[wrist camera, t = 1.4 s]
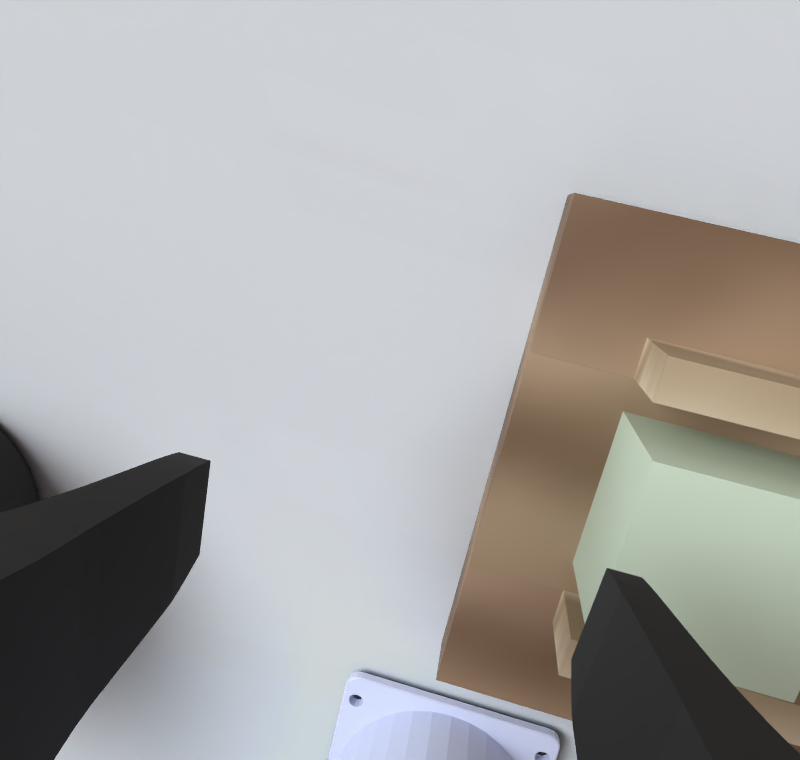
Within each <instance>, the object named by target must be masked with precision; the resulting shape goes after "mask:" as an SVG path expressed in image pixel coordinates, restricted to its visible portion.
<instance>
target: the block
mask: <svg viewBox="0 0 800 760" xmlns="http://www.w3.org/2000/svg"><path fill="white" fill-rule="evenodd" d="M573 567H574V572H575V577H576V582H577V587H578V592H579V598H580V603H581V608H582V613H583V618H584V623H586V620H587V617H588V615H589V612H590V610H591V607H592V605H593V602H594V599H595V597H596V594H597V592H598V589H599V586H600V584H601V581H602V579H603V576H604V574H605V571H606V568H609V569H613V570H617V571H621V572H624V573H628V574H632V575H635V576H639V577H642V578H643V579H644V580H645V581H646V582H647V583H648V584H649V585H650V586H651V587H652V589H653V590H654V591H655V592H656V593H657V594H658V596H659V597H660V598H661V599H662V600H663V602H664V603H665V604H666V605H667V607H668V608H669V609H670V610H671V611H672V613H673V614H674V615H675V616H676V618H677V619H678V620H679V621H680V622H681V624H682V625H683V626H684V627H685V629H686V630H687V631H688V632H689V633H690V635H691V636H692V637H693V638H694V639H695V641H696V642H697V643H698V644H699V646H700V647H701V648H702V649H703V650H704V651H705V653H706V654H707V655H708V656H709V657H710V659H711V660H712V661H713V662H714V663H715V664H716V666H717V667H718V668H719V669H720V670H721V671H722V673H723V674H724V675H725V676H726V677H727V678H728V679H729V680H730V682H731V683H732V684H733V685H734V686H737V687H740V688H743V689H747V690H750V691H754V692H757V693H761V694H764V695H768V696H771V697H775V698H778V699H781V700H785V701H788V702H792V703H794V702H795V700H796V697H797V695H798V693H799V691H800V456H796V455H792V454H788V453H784V452H780V451H776V450H772V449H768V448H765V447H761V446H757V445H753V444H749V443H745V442H741V441H737V440H733V439H729V438H725V437H721V436H718V435H714V434H710V433H706V432H702V431H698V430H694V429H690V428H686V427H682V426H678V425H674V424H670V423H667V422H663V421H659V420H655V419H651V418H647V417H643V416H639V415H635V414H631V413H627V412H623V413H622V416H621V419H620V422H619V425H618V428H617V431H616V434H615V437H614V440H613V443H612V446H611V449H610V452H609V455H608V458H607V461H606V464H605V467H604V470H603V473H602V476H601V479H600V482H599V485H598V488H597V491H596V494H595V497H594V500H593V503H592V506H591V509H590V512H589V515H588V518H587V521H586V524H585V527H584V530H583V533H582V536H581V539H580V542H579V545H578V548H577V551H576V554H575V557H574V560H573Z"/></svg>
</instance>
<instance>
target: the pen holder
mask: <svg viewBox="0 0 800 760" xmlns="http://www.w3.org/2000/svg"><path fill="white" fill-rule="evenodd" d="M37 501H39V496H38V493H37V489H36V485H35V482H34V480H33V477H32V474H31V472H30V470H29V468H28V466H27V464H26V462H25V460H24V458H23V457H22V455H21V454H20V452H19V451H18V449H17V448H16V446H15V445H14V444H13V443H12V442H11V440H10V439H9V438H8V437H7V436H6V435H5V434H4V433H3V432H2V431H1V430H0V513H1V512H4V511H8V510H12V509H15V508H18V507H22V506H25V505H28V504H31V503H34V502H37Z"/></svg>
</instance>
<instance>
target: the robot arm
mask: <svg viewBox="0 0 800 760" xmlns="http://www.w3.org/2000/svg"><path fill="white" fill-rule="evenodd" d="M209 469H210V461H209V460H206V459H202V458H198V457H194V456H191V455H187V454H183V453H180V452H178V453H175V454H171V455H168V456H165V457H162V458H159V459H156V460H153V461H151V462H148V463H145V464H143V465H140V466H137V467H135V468H132V469H129V470H127V471H124V472H121V473H119V474H116V475H113V476H110V477H108V478H105V479H102V480H100V481H97V482H94V483H91V484H89V485H86V486H83V487H80V488H78V489H74V490H71V491H68V492H65V493H62V494H59V495H56V496H53V497H50V498H47V499H44V500H41V501H37V502H34V503H31V504H28V505H25V506H22V507H18V508H15V509H12V510H8V511H4V512H1V513H0V760H54V759H55V757H56V756H57V754H58V752H59V751H60V749H61V748H62V746H63V745H64V743H65V742H66V740H67V738H68V737H69V735H70V734H71V732H72V731H73V729H74V728H75V726H76V725H77V724H78V722H79V721H80V719H81V718H82V717H83V715H84V714H85V712H86V711H87V710H88V708H89V707H90V706H91V704H92V703H93V702H94V700H95V699H96V698H97V696H98V695H99V694H100V693H101V691H102V690H103V689H104V688H105V686H106V685H107V684H108V683H109V681H110V680H111V679H112V677H113V676H114V675H115V674H116V672H117V671H118V670H119V669H120V667H121V666H122V665H123V663H124V662H125V661H126V660H127V658H128V657H129V656H130V655H131V653H132V652H133V651H134V650H135V648H136V647H137V646H138V644H139V643H140V642H141V641H142V639H143V638H144V637H145V636H146V634H147V633H148V632H149V630H150V629H151V628H152V627H153V625H154V624H155V623H156V621H157V620H158V619H159V617H160V616H161V615H162V614H163V612H164V611H165V610H166V608H167V607H168V606H169V604H170V603H171V602H172V600H173V599H174V597H175V595H176V594H177V592H178V590H179V589H180V587H181V586H182V584H183V582H184V581H185V579H186V577H187V575H188V574H189V572H190V570H191V568H192V567H193V565H194V563H195V561H196V560H197V558H198V556H199V554H200V545H201V537H202V528H203V520H204V511H205V503H206V495H207V486H208V478H209ZM353 694H355V695H359V696H360V697H361V698H362V699H356V698H354V697H353V696H352V695H353ZM571 707H572V722H573V730H574V738H575V745H576V752H577V760H800V753H799V752H798V751H797V750H796V749H794V748H793V747H792V746H791V745H790V744H789V743H788V742H787V741H786V740H785V739H784V738H783V737H782V736H781V735H780V734H779V733H778V732H777V731H776V730H775V729H774V728H773V727H772V726H771V725H770V724H769V723H768V722H767V721H766V720H765V718H764V717H763V716H762V715H761V714H760V713H759V712H758V711H757V710H756V709H755V708H754V707H753V706H752V705H751V703H750V702H749V701H748V700H747V699H746V698H745V697H744V696H743V695H742V694H741V693H740V692H739V691H738V689H737V688H736V687H735V686H734V685H733V684H732V683H731V682H730V680H729V679H728V678H727V677H726V676H725V675H724V674H723V673H722V671H721V670H720V669H719V668H718V667H717V666H716V664H715V663H714V662H713V661H712V660H711V659H710V657H709V656H708V655H707V654H706V653H705V651H704V650H703V649H702V648H701V647H700V646H699V644H698V643H697V642H696V641H695V639H694V638H693V637H692V636H691V635H690V633H689V632H688V631H687V630H686V629H685V627H684V626H683V625H682V624H681V622H680V621H679V620H678V619H677V618H676V616H675V615H674V614H673V613H672V611H671V610H670V609H669V608H668V607H667V605H666V604H665V603H664V602H663V600H662V599H661V598H660V597H659V596H658V594H657V593H656V592H655V591H654V590H653V589H652V587H651V586H650V585H649V584H648V583H647V582H646V581H645V580H644V579H643V578H642V577H639V576H635V575H632V574H628V573H624V572H621V571H617V570H613V569H609V568H606V571H605V574H604V576H603V579H602V581H601V584H600V586H599V589H598V592H597V594H596V597H595V599H594V602H593V605H592V607H591V610H590V612H589V615H588V617H587V620H586V623H585V625H584V628H583V630H582V633H581V635H580V638H579V641H578V643H577V646H576V648H575V651H574V653H573V656H572V659H571ZM559 750H560V741H559V737H558V735H557V734H556V733H555V731H553V730H551V729H549V728H546V727H542V726H539V725H536V724H532V723H529V722H526V721H522V720H519V719H516V718H513V717H509V716H506V715H503V714H499V713H496V712H493V711H490V710H486V709H483V708H480V707H476V706H473V705H470V704H466V703H463V702H460V701H457V700H453V699H450V698H447V697H443V696H440V695H437V694H434V693H430V692H427V691H424V690H420V689H417V688H414V687H410V686H407V685H404V684H401V683H397V682H394V681H391V680H387V679H384V678H381V677H378V676H374V675H371V674H368V673H364V672H354V673H352V674H351V675H350V676H349V678H348V680H347V683H346V686H345V690H344V694H343V698H342V703H341V707H340V711H339V715H338V719H337V724H336V728H335V732H334V736H333V740H332V744H331V749H330V753H329V757H328V760H556V759H557V756H558V753H559ZM538 752H545V753H547V754H546V755H538V754H537V753H538Z"/></svg>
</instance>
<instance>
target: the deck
mask: <svg viewBox="0 0 800 760" xmlns="http://www.w3.org/2000/svg"><path fill="white" fill-rule="evenodd" d="M623 412H627V413H631V414H635V415H639V416H643V417H647V418H651V419H655V420H659V421H663V422H667V423H670V424H674V425H678V426H682V427H686V428H690V429H694V430H698V431H702V432H706V433H710V434H714V435H718V436H721V437H725V438H729V439H733V440H737V441H741V442H745V443H749V444H753V445H757V446H761V447H765V448H768V449H772V450H776V451H780V452H784V453H788V454H792V455H796V456H800V244H799V243H794V242H790V241H785V240H781V239H776V238H772V237H768V236H763V235H759V234H754V233H750V232H745V231H741V230H737V229H732V228H728V227H723V226H719V225H714V224H710V223H705V222H701V221H697V220H692V219H688V218H683V217H679V216H674V215H670V214H666V213H661V212H657V211H652V210H648V209H643V208H639V207H635V206H630V205H626V204H621V203H617V202H612V201H608V200H604V199H599V198H595V197H590V196H586V195H581V194H577V193H573V194H570V195H568V197H567V200H566V204H565V207H564V211H563V214H562V218H561V221H560V225H559V229H558V232H557V236H556V239H555V243H554V246H553V250H552V253H551V257H550V261H549V264H548V268H547V271H546V275H545V278H544V282H543V285H542V289H541V292H540V296H539V300H538V303H537V307H536V310H535V314H534V317H533V321H532V324H531V328H530V331H529V335H528V339H527V342H526V346H525V349H524V353H523V356H522V360H521V363H520V367H519V370H518V374H517V378H516V381H515V385H514V388H513V392H512V395H511V399H510V402H509V406H508V410H507V413H506V417H505V420H504V424H503V427H502V431H501V434H500V438H499V441H498V445H497V449H496V452H495V456H494V459H493V463H492V466H491V470H490V473H489V477H488V480H487V484H486V488H485V491H484V495H483V498H482V502H481V505H480V509H479V512H478V516H477V520H476V523H475V527H474V530H473V534H472V537H471V541H470V544H469V548H468V551H467V555H466V559H465V562H464V566H463V569H462V573H461V576H460V580H459V583H458V587H457V590H456V594H455V598H454V601H453V605H452V608H451V612H450V615H449V619H448V622H447V626H446V629H445V633H444V637H443V640H442V645H441V651H440V658H439V665H438V671H437V678H436V680H439V681H442V682H446V683H449V684H452V685H455V686H459V687H462V688H465V689H469V690H472V691H475V692H479V693H482V694H485V695H489V696H492V697H495V698H499V699H502V700H505V701H509V702H512V703H515V704H519V705H522V706H525V707H528V708H532V709H535V710H538V711H542V712H545V713H548V714H552V715H555V716H558V717H562V718H565V719H568V720H572V707H571V659H572V656H573V653H574V651H575V648H576V646H577V643H578V641H579V638H580V635H581V633H582V630H583V628H584V625H585V623H584V618H583V613H582V608H581V603H580V598H579V592H578V587H577V582H576V577H575V572H574V567H573V560H574V557H575V554H576V551H577V548H578V545H579V542H580V539H581V536H582V533H583V530H584V527H585V524H586V521H587V518H588V515H589V512H590V509H591V506H592V503H593V500H594V497H595V494H596V491H597V488H598V485H599V482H600V479H601V476H602V473H603V470H604V467H605V464H606V461H607V458H608V455H609V452H610V449H611V446H612V443H613V440H614V437H615V434H616V431H617V428H618V425H619V422H620V419H621V416H622V413H623ZM735 687H736V688H737V689H738V691H739V692H740V693H741V694H742V695H743V696H744V697H745V698H746V699H747V700H748V701H749V702H750V703H751V705H752V706H753V707H754V708H755V709H756V710H757V711H758V712H759V713H760V714H761V715H762V716H763V717H764V718H765V720H766V721H767V722H768V723H769V724H770V725H771V726H772V727H773V728H774V729H775V730H776V731H777V732H778V733H779V734H780V735H781V736H782V737H783V738H784V739H785V740H786V741H787V742H788V743H789V744H790V745H791V746H792V747H793V748H794V749H796V750H797V751H798V752H799V753H800V691H799V693H798V695H797V697H796V700H795V702H794V703H792V702H788V701H785V700H781V699H778V698H775V697H771V696H768V695H764V694H761V693H757V692H754V691H750V690H747V689H743V688H740V687H737V686H735Z"/></svg>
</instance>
